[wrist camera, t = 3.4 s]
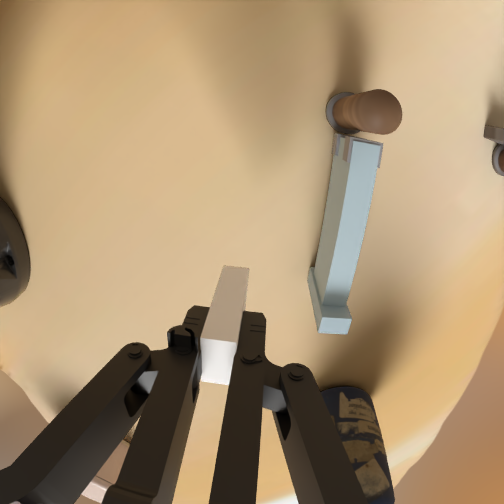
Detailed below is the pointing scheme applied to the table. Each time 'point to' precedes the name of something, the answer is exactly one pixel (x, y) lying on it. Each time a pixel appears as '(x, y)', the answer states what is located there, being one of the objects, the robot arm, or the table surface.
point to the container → (107, 473)
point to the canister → (361, 440)
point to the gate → (343, 230)
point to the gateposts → (387, 118)
